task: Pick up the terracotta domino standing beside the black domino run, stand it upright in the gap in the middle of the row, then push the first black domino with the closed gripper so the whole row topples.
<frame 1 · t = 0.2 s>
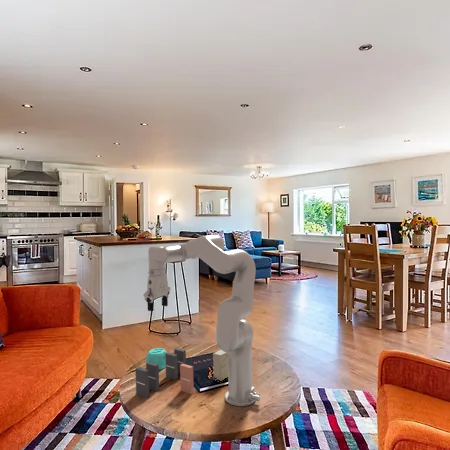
hand: (157, 308, 162), 31 cm above the table, tool pointing down, fingers open, 9 cm apart
domino 5: (142, 395, 143), on the table
skincare box: (221, 379, 156), on the table
decorative dice: (157, 367, 170), on the table
domino 2: (171, 377, 158), on the table
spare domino: (187, 391, 145), on the table
domino 4: (152, 389, 148), on the table
domino 1: (180, 372, 163), on the table
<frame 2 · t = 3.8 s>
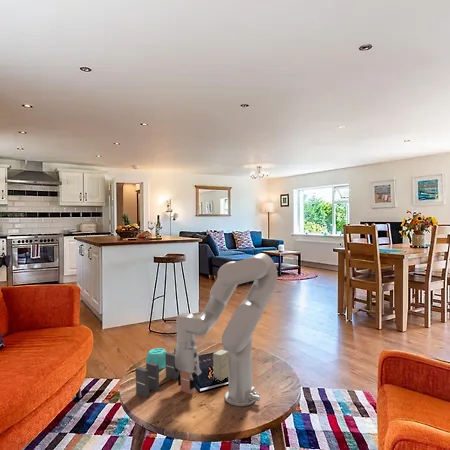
hand: (186, 385, 145), 3 cm above the table, tool pointing down, fingers closed on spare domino, 5 cm apart
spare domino: (187, 391, 145), on the table, touching gripper
everything else where it was.
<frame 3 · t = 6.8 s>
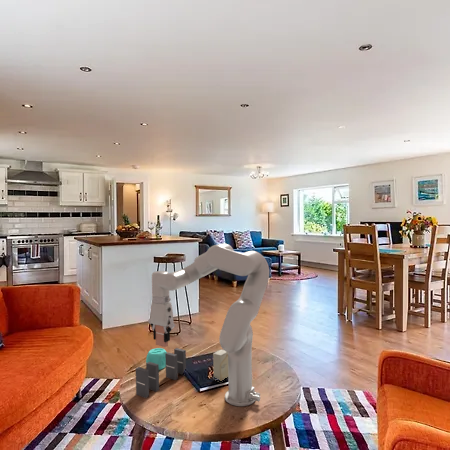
hand: (161, 339, 152), 20 cm above the table, tool pointing down, fingers closed on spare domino, 5 cm apart
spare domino: (161, 345, 152), point 17 cm above the table, touching gripper
everything else where it was.
when the fingers open (3 cm above the table, at t = 10.2 s): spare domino stays where it is, on the table.
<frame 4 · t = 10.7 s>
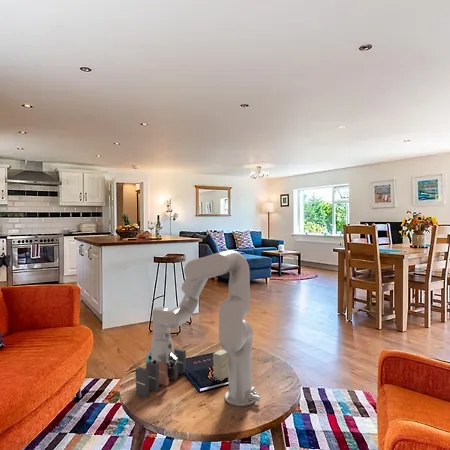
hand: (162, 373, 153), 4 cm above the table, tool pointing down, fingers open, 9 cm apart
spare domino: (162, 383, 153), on the table
everything else where it was.
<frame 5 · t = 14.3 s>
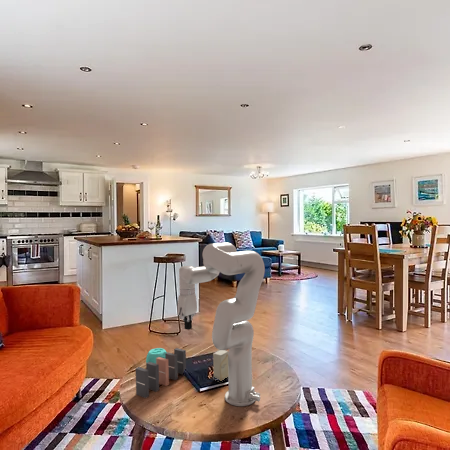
hand: (188, 328, 168), 19 cm above the table, tool pointing down, fingers closed
nothing on the table moved.
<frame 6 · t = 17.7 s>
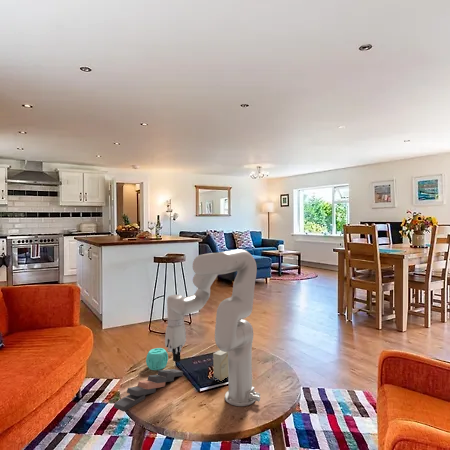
hand: (176, 360, 161), 7 cm above the table, tool pointing down, fingers closed
domino 5: (140, 394, 142), point 1 cm above the table, tilted 90°, touching domino 4
domino 2: (169, 377, 156), point 1 cm above the table, tilted 72°, touching domino 1, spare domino
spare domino: (160, 382, 151), point 1 cm above the table, tilted 72°, touching domino 2, domino 4
domino 4: (150, 388, 146), point 1 cm above the table, tilted 73°, touching domino 5, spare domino
domino 1: (178, 372, 161), point 1 cm above the table, tilted 72°, touching domino 2
everything else where it was.
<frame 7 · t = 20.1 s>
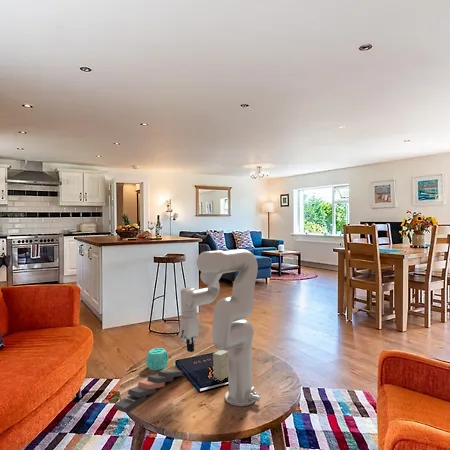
hand: (190, 351, 167), 9 cm above the table, tool pointing down, fingers closed
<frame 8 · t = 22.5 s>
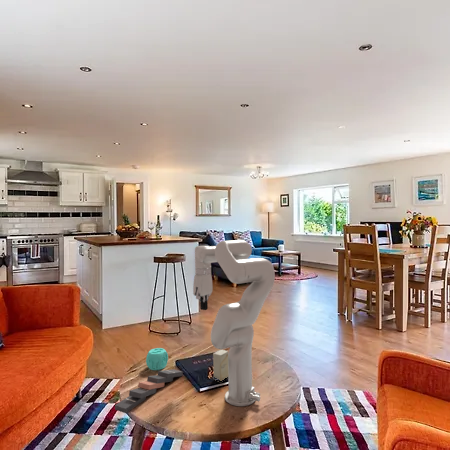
hand: (204, 309, 165), 29 cm above the table, tool pointing down, fingers closed
domino 5: (140, 396, 141), point 1 cm above the table, tilted 90°
domino 4: (150, 389, 146), point 1 cm above the table, tilted 75°, touching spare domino
everything else where it was.
at the end: domino 5 tilted 90°; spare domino tilted 71°; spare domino 1.6 cm from the target spot, point 0.9 cm above the table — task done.
